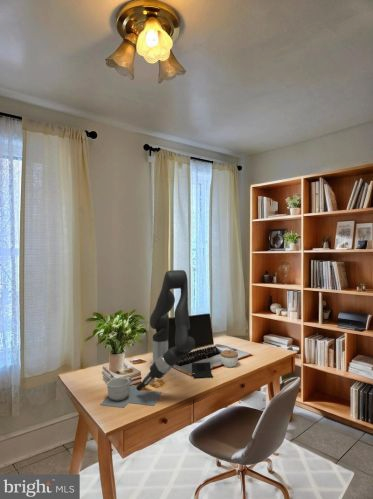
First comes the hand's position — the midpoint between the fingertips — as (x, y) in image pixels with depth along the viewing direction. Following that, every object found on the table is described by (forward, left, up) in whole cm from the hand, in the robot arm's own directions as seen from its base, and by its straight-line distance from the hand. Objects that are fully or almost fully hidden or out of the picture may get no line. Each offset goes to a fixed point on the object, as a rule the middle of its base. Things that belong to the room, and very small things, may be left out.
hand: (137, 389), depth 154 cm
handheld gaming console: (-32, +26, -4) cm, 42 cm away
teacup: (+2, -8, -4) cm, 9 cm away
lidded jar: (-49, +40, -4) cm, 64 cm away
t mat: (0, -2, -4) cm, 4 cm away
